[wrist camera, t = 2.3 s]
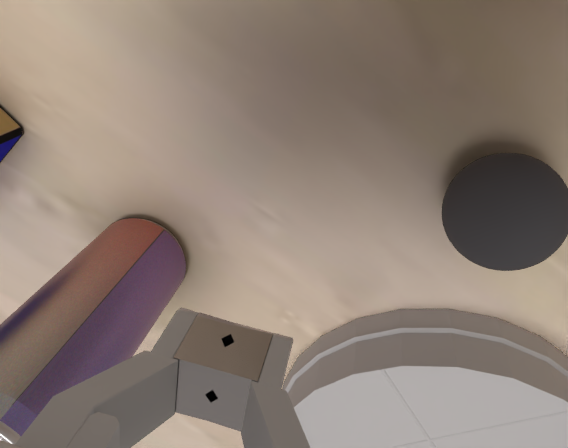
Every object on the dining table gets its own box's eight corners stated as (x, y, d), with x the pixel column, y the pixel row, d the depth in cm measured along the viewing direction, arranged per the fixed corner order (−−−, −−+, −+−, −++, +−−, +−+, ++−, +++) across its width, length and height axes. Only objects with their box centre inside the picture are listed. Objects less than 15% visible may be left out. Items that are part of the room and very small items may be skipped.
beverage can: (206, 253, 29) (65, 471, 16) (163, 302, 32) (14, 520, 19) (130, 195, 28) (-83, 380, 15) (93, 252, 31) (-114, 446, 18)
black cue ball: (458, 126, 22) (478, 166, 18) (571, 151, 22) (622, 200, 17) (422, 220, 25) (430, 276, 20) (522, 244, 25) (553, 308, 20)
